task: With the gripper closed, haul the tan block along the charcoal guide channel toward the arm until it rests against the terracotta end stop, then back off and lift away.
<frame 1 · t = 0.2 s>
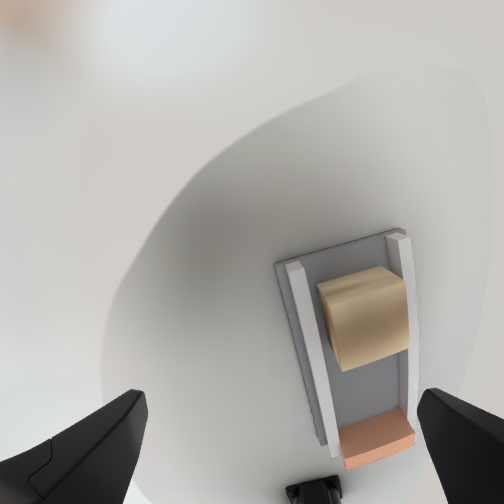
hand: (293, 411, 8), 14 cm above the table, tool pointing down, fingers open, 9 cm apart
tan block: (354, 305, 21), point 1 cm above the table, touching channel
channel: (358, 352, 23), on the table
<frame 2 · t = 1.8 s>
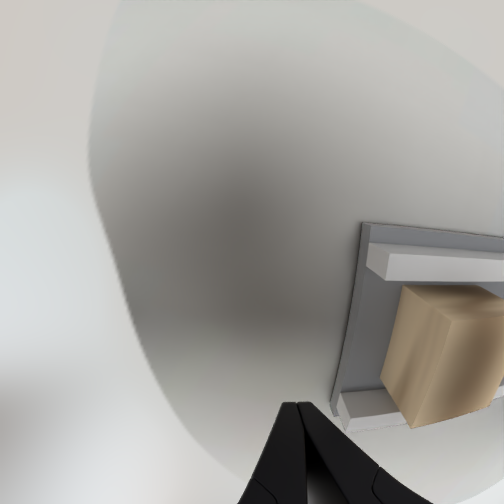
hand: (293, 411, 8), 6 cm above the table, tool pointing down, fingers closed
tan block: (432, 332, 13), point 1 cm above the table, touching channel
channel: (483, 318, 14), on the table
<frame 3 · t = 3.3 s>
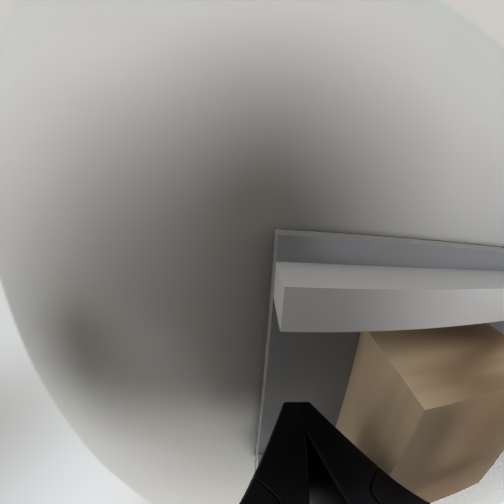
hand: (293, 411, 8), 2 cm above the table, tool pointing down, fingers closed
tan block: (409, 383, 9), point 1 cm above the table, touching channel, gripper
channel: (475, 358, 10), on the table
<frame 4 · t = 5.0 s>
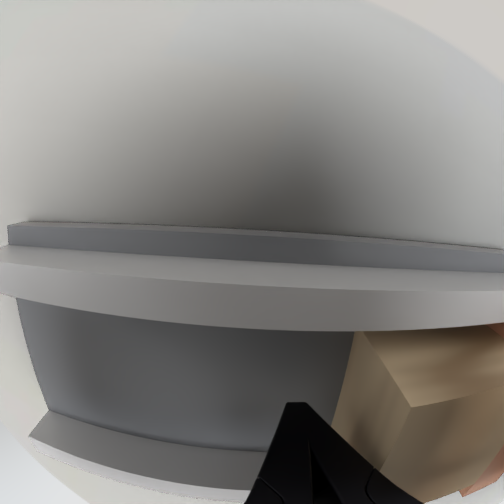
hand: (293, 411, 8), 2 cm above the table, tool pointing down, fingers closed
tan block: (405, 383, 9), point 1 cm above the table, touching channel, gripper
channel: (266, 373, 10), on the table
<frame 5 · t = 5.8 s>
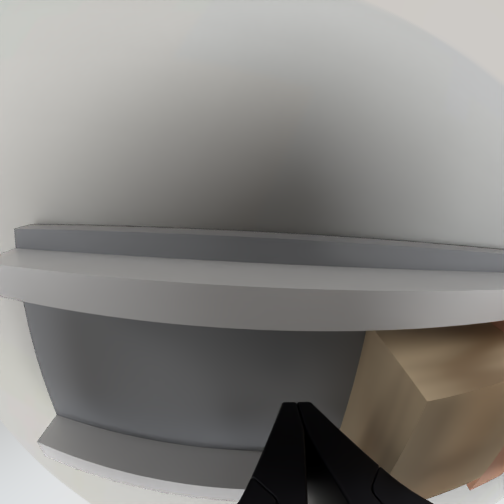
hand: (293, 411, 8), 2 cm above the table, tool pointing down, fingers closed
tan block: (413, 380, 9), point 1 cm above the table, touching channel
channel: (278, 373, 10), on the table
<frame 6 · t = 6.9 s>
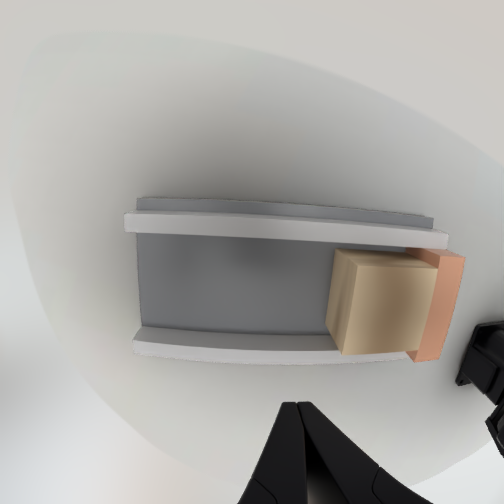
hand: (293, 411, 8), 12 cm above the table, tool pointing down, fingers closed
tan block: (366, 288, 19), point 1 cm above the table, touching channel
channel: (288, 282, 19), on the table
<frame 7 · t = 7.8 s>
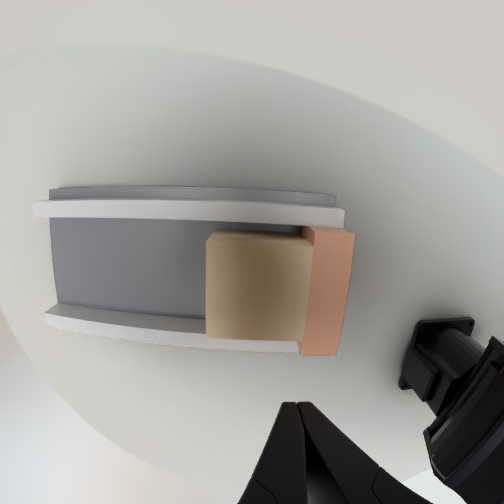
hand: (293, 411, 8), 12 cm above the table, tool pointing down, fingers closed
tan block: (255, 271, 19), point 1 cm above the table, touching channel
channel: (178, 264, 19), on the table
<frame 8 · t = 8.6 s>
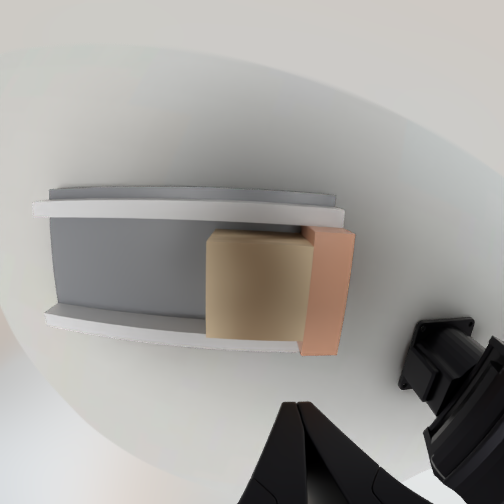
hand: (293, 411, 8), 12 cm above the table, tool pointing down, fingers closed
tan block: (255, 271, 19), point 1 cm above the table, touching channel
channel: (178, 264, 19), on the table
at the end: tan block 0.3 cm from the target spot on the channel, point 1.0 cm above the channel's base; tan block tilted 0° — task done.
